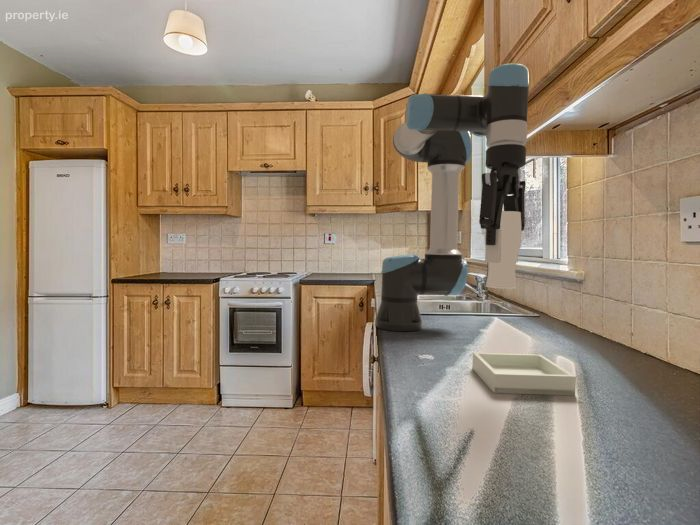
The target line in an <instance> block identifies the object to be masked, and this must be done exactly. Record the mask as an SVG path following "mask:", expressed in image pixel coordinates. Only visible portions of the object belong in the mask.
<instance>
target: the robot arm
mask: <svg viewBox="0 0 700 525" xmlns="http://www.w3.org/2000/svg"><path fill="white" fill-rule="evenodd" d="M529 81H530V80H529V68H528V67H527V66H526V65H524V64H521V63H505V64H500V65H498V66H496V67H494V68H492V70H490V72H489V73H488V80H487V83H486V86H487V92H486V93H485V94H483V95H461V94H459V95H458V94H457V95H456V94H455V95H454V94H453V95H452V94H436V93H435V94H434V93H433V94H431V93H418V94H411V95H410V96H408V98H407V103H406V107H405V122H403V123H401V124H400V125H398V127H397V128H396V130H395V131H394V133H393V136H392V145H393V148H394V150H395V152H397V154H398V155H399V156H400V157H402V158H403V159H405V160H408V161H411V162H416V163H426V164H427V170H428V171H429V173H431V195H430V196H431V201H430V202H431V203H430V227H429V228H430V230H429V231H430V234H429V248H428V250H426V251H425V253H424V258H420V256H419V254H418V253H416V254H405V255H404V254H403V255H393V256H388V257H386V258H384V259H383V261H382V266H381V290H380V292H381V297H380V298H381V299H380V305H379V307H378V310H377V313H376V316H375V321H374V323H375V324H374V325H375V327H376V328H378V329H381V330H385V331H391V332H392V331H393V332H414V331H419V330H422V329H423V319H422V316H421V312H420V308H419V305H418V296H420V295H421V296H445V297H448V296H458V295H460V294H461V293H462V292H463V290H464V289H465V286H466V283H467V281H468V275H469V273H468V272H469V268H468V262H467V260H465V259H463V258H462V257H463V254H462V252H461V251H460V250H459V248H458V227H459V226H458V225H459V200H460V198H459V195H460V174H461V173H462V172H463V170H464V169H466V168H465V166H466V164H469V163H470V160H471V158H472V153H473V143H472V141H473V140H472V137H471V134H472V135H473V136H475V137H478V138H479V137H482V138H483V137H485V139H486V147H487V149H486V150H485V167H486V168H487V169H489V170H490V172H486V173H482V174H481V184H482V185H481V186H482V187H481V199H480V208H479V210H480V211H479V220H478V223H479V225H480V229H484V230H485V229H486V248H485V250H484V251H485V253H484V256H485V257H484V263H487V262H491V263H500V243H501V229H496V228H498V227H499V222H500V217H501V213H502V211H517V212H521V232H522V231H524V230H525V224H526V222H525V221H526V220H525V219H526V217H525V215H526V212H525V210H526V208H525V206H526V205H525V202H526V201H525V191H526V185H527V183H526V180H520V178H519V169H520V168H523V167H525V165H526V160H527V148H526V145H527V143H528V138H527V137H528V111H529V110H528V108H529V107H528V106H529V88H530V84H529V83H530V82H529ZM518 258H519V256H518V257H517V262H516V264H517V263H518V262H519V259H518Z"/></svg>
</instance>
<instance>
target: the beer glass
mask: <svg viewBox="0 0 700 525" xmlns="http://www.w3.org/2000/svg"><path fill="white" fill-rule="evenodd" d="M496 229H501V243H500V263H491V262H486V263H487V265H486V267H487V271H486V277H485V282H484V287H486V288H494V289H517V287H518V285H517V284H518V283H517V277H516V267H517V263H518V262H517V257H518V258H519V252H520V247H521V241H522V231H521V212H517V211H505V210H502V213H501V217H500V222H499V227H498V228H496ZM483 236H484V240H483V241H484V247H485V248H486V229H484V235H483ZM516 262H517V263H516Z"/></svg>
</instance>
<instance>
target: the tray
mask: <svg viewBox="0 0 700 525" xmlns="http://www.w3.org/2000/svg"><path fill="white" fill-rule="evenodd" d="M472 370H473V371H474V372H475V373H476V374H477V375H478V376H479V378H480V379H481V380H482V381H483V383H485V384H486V386H487V387H488V388H489V389H490V390H491V391H492V392H493V393H494V394H511V395H512V394H513V395H514V394H517V395H518V394H519V395H541V396H542V395H544V396H545V395H546V396H547V395H548V396H576V386H577V385H576V384H577V383H576V382H577V376H576V375H574V374H573V373H571V372H569V371H568V370H567V369H565V368H563V367H562V366H560V365H558V364H556V363H555V362H553V361H552V360H550V359H548V358H547V357H545V356H544V355H542V354H533V353H532V354H531V353H530V354H529V353H497V352H495V353H494V352H472Z"/></svg>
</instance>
